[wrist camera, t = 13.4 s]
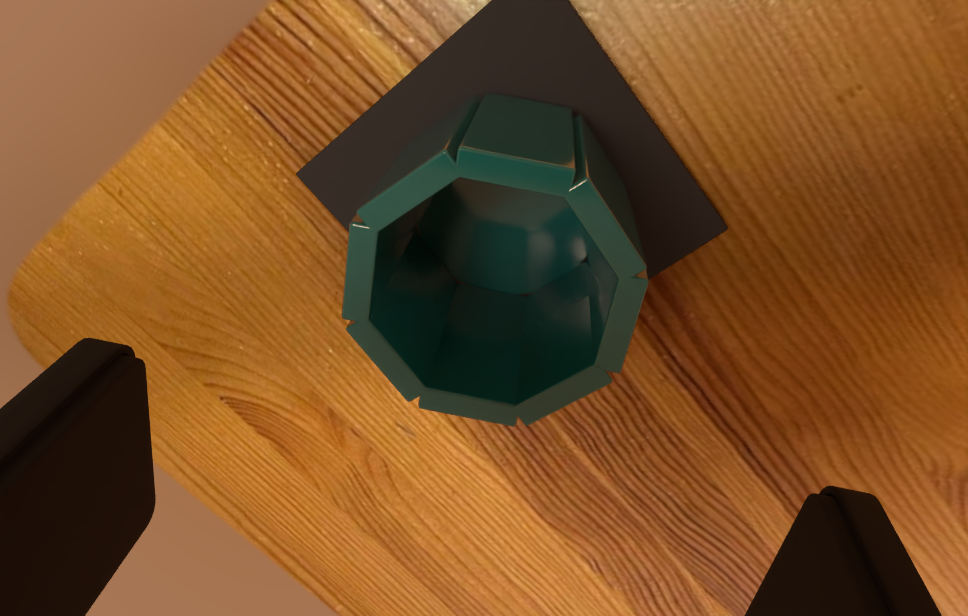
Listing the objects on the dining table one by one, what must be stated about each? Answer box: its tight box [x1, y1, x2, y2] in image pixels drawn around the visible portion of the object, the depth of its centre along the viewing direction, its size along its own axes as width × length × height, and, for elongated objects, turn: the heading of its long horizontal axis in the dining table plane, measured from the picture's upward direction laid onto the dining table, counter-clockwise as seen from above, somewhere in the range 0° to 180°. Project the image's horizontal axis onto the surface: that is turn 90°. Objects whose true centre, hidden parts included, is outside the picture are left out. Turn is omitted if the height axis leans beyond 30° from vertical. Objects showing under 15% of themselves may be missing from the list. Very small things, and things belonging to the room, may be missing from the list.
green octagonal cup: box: [342, 92, 649, 427], centre depth 20 cm, size 7×7×7 cm
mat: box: [296, 0, 728, 296], centre depth 23 cm, size 10×10×1 cm
